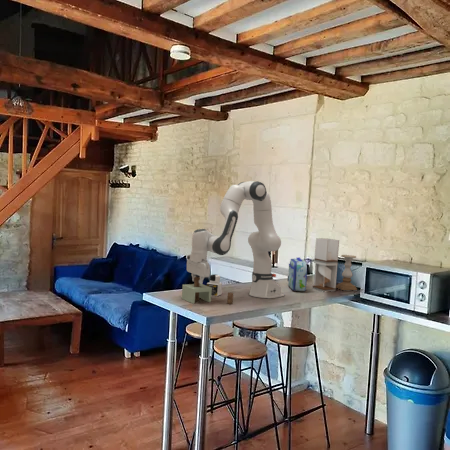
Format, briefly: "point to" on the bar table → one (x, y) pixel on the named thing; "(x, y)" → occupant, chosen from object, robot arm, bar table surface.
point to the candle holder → (347, 275)
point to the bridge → (190, 290)
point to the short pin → (230, 298)
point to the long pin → (196, 284)
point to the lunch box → (297, 274)
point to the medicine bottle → (215, 285)
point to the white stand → (326, 264)
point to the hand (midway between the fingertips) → (197, 282)
